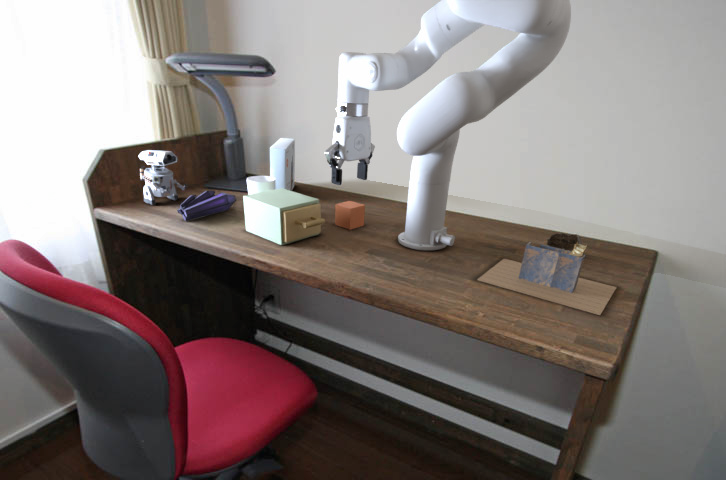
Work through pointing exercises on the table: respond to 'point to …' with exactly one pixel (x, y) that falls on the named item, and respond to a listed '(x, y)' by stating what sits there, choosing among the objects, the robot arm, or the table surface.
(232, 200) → the crystal
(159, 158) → the figurine
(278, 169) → the skincare box
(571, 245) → the rock sample
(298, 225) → the drawer
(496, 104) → the robot arm
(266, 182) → the white cup
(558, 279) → the ruin model on sheet
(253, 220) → the cabinet
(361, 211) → the plain salmon cube
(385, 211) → the table surface
